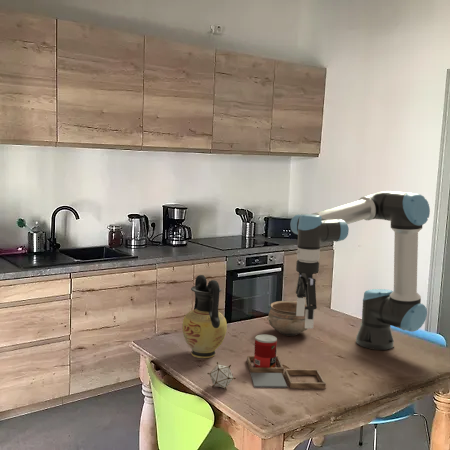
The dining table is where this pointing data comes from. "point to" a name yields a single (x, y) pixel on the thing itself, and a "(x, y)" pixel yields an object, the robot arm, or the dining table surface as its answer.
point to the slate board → (268, 380)
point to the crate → (265, 370)
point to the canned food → (265, 351)
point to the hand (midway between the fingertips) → (304, 321)
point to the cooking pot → (286, 318)
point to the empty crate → (304, 384)
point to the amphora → (204, 320)
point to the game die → (221, 376)
